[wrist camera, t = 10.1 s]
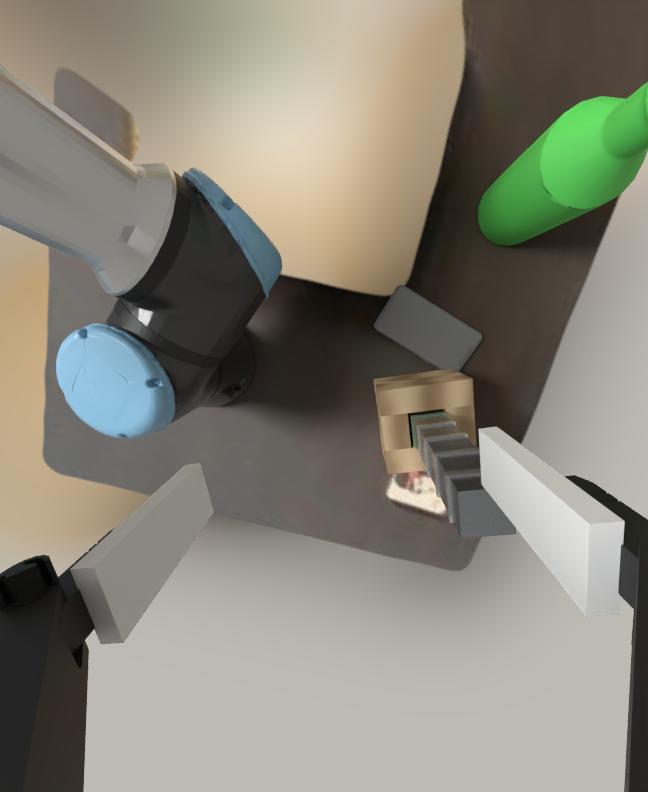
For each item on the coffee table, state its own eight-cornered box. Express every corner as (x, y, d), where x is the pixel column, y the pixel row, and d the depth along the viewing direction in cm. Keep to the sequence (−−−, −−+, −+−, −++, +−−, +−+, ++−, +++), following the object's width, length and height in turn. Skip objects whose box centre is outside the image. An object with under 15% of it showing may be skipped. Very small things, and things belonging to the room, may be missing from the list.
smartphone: (400, 282, 46) (485, 335, 47) (399, 283, 47) (483, 335, 48) (371, 327, 48) (454, 378, 48) (371, 327, 49) (452, 377, 49)
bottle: (549, 231, 43) (798, 119, 19) (485, 257, 45) (641, 184, 21) (533, 164, 42) (784, -52, 17) (467, 193, 43) (615, 31, 19)
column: (409, 437, 46) (458, 540, 24) (406, 408, 45) (454, 489, 23) (440, 434, 45) (518, 536, 24) (438, 404, 44) (517, 483, 23)
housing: (382, 448, 53) (389, 479, 42) (373, 379, 50) (378, 394, 40) (456, 440, 51) (482, 470, 41) (451, 368, 49) (477, 380, 38)
